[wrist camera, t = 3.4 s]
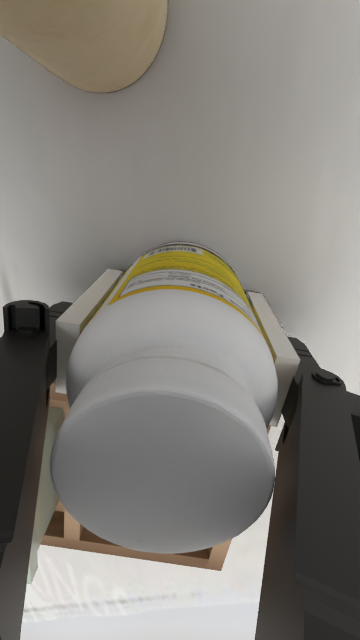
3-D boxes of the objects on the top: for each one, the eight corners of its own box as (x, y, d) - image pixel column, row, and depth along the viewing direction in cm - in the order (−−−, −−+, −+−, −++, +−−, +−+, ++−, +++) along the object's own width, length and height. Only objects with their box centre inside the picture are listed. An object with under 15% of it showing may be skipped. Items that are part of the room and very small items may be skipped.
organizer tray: (-86, 333, 18) (-126, 355, 16) (264, 388, 19) (273, 417, 16) (-54, 492, 23) (-81, 526, 21) (218, 533, 24) (220, 570, 22)
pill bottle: (174, 372, 19) (146, 605, 8) (97, 291, 17) (-54, 463, 7) (266, 309, 17) (373, 510, 7) (191, 211, 15) (180, 280, 5)
